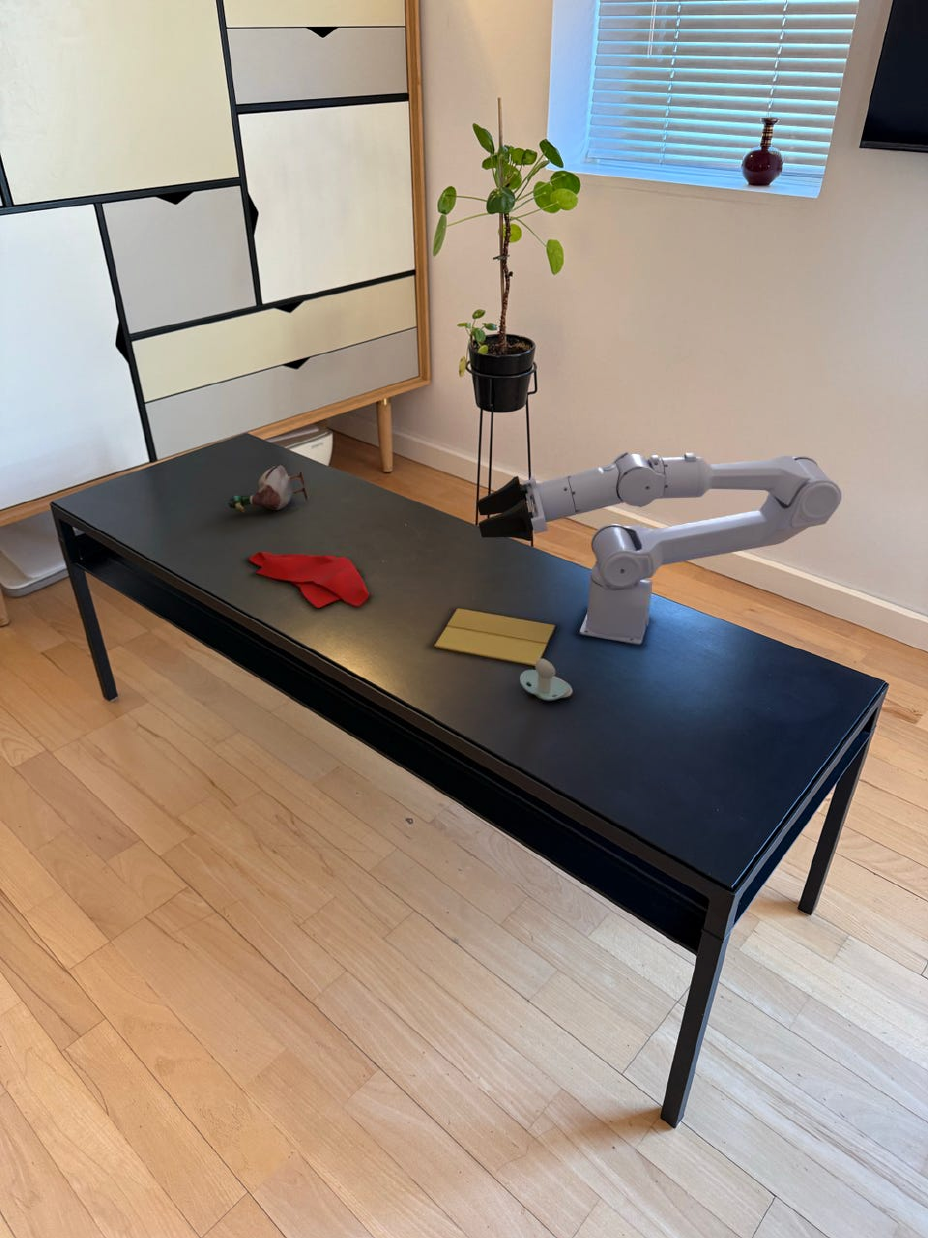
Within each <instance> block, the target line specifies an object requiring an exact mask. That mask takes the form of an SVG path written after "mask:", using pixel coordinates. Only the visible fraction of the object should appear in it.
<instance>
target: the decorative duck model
mask: <svg viewBox="0 0 928 1238" xmlns="http://www.w3.org/2000/svg"><path fill="white" fill-rule="evenodd" d="M293 478H300V481H301V484H302V486H303V487H302V488H301V489H298V490H294V491H293V489H292V482H291V480H292V479H293ZM302 492H303V496H304V498H305V500H306V502H308V501H309V500H308V494H307V491H306V486H305V480H304V477H303V473H302V471H299V474H296V475H291V476H290V475H289V474H288V472H287V470H286V469H285V467H284V466H283V465H280V464H278V465H274V466H272V467H271V468H269V469H267V470H266V471H265V472H264V473H263V474H262V475H261V476H260V477H259V480H258V484H257V491H256V492H255V494H252V495H240V494H239V495H238V494H236V495H234V496H232V497H231V498H230V499H229V500H228V503H227V504H228V507H229V508H230V509H236V510H239V511H241V512H242V513H245V508H244V506H247V505H253V506H255V505H256V506H260V507H264V508H266V509H268V510H271V511H279V510H282V509H283V508H285V507H287V505H288V504H289V503H290V501H291V498H292V496H293V495H294V494H296V493H297V494H298V493H302Z"/></svg>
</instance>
